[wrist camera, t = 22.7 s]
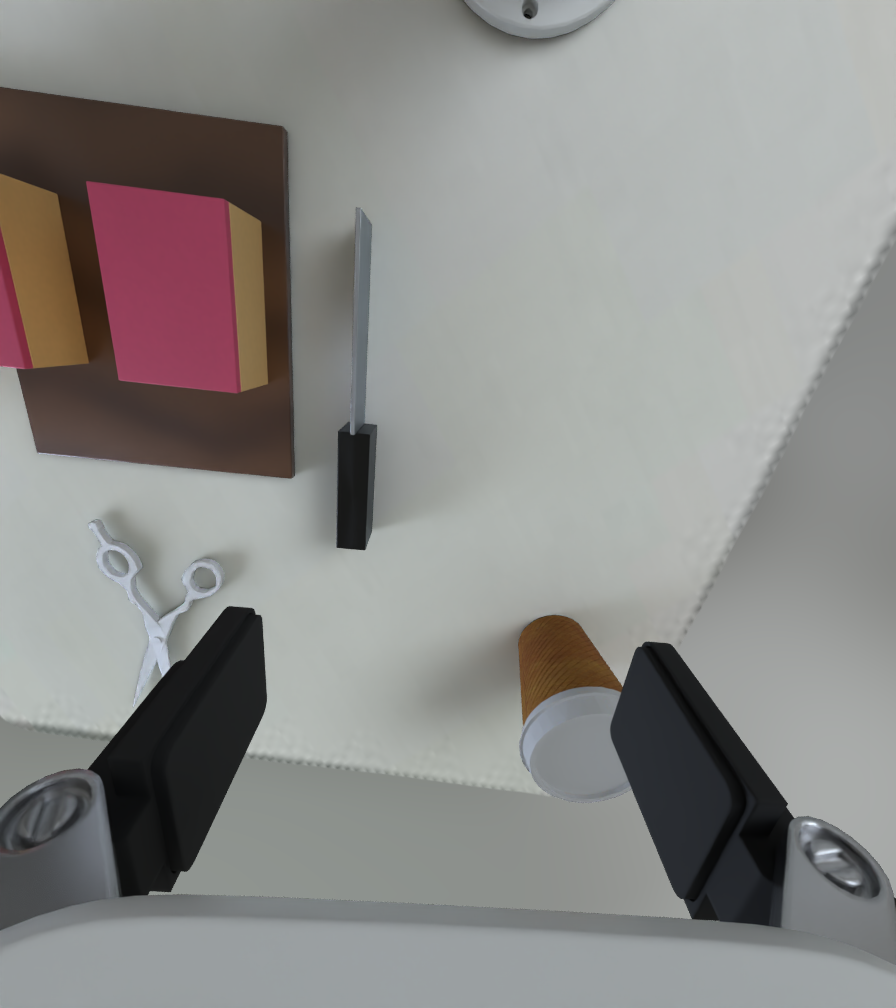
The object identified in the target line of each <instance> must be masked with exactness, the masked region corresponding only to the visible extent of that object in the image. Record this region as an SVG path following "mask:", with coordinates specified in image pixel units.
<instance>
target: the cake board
mask: <svg viewBox="0 0 896 1008" xmlns="http://www.w3.org/2000/svg"><path fill="white" fill-rule="evenodd" d="M0 174H3V175H6V176H9V177H11V178H14V179H17V180H20V181H23V182H25V183H28V184H31V185H34V186H36V187H39V188H42V189H45V190H48V191H50V192H53V193H56V194H57V195H58V200H59V205H60V211H61V216H62V221H63V227H64V232H65V238H66V243H67V248H68V254H69V259H70V264H71V270H72V275H73V280H74V286H75V291H76V296H77V302H78V307H79V312H80V318H81V323H82V328H83V334H84V339H85V344H86V350H87V355H88V361H89V363H88V364H77V365H66V366H54V367H43V368H31V369H20V368H17V373H18V377H19V381H20V385H21V389H22V393H23V397H24V401H25V405H26V409H27V413H28V417H29V421H30V425H31V429H32V433H33V437H34V441H35V445H36V449H37V453H40V454H50V455H60V456H70V457H80V458H90V459H101V460H111V461H121V462H131V463H141V464H151V465H161V466H171V467H181V468H191V469H201V470H211V471H221V472H231V473H241V474H251V475H261V476H271V477H281V478H293V477H294V476H295V461H294V415H293V370H292V324H291V278H290V233H289V187H288V142H287V131H286V130H285V129H284V127H283V126H277V125H270V124H262V123H255V122H248V121H241V120H234V119H227V118H219V117H212V116H205V115H198V114H191V113H183V112H176V111H169V110H162V109H155V108H147V107H140V106H133V105H126V104H119V103H112V102H104V101H97V100H90V99H83V98H76V97H68V96H61V95H54V94H47V93H40V92H33V91H25V90H18V89H11V88H4V87H0ZM86 181H91V182H99V183H106V184H114V185H122V186H129V187H137V188H145V189H152V190H160V191H168V192H175V193H183V194H191V195H198V196H206V197H214V198H221V199H225V200H226V201H228V202H230V203H231V204H233V205H235V206H236V207H238V208H240V209H241V210H243V211H245V212H246V213H248V214H249V215H251V216H253V217H254V218H256V219H258V220H259V221H261V230H262V254H263V277H264V301H265V324H266V348H267V371H268V384H266V385H263V386H260V387H256V388H253V389H249V390H246V391H243V392H239V393H230V392H221V391H212V390H202V389H193V388H184V387H175V386H166V385H156V384H147V383H138V382H129V381H120V380H119V378H118V372H117V366H116V360H115V354H114V348H113V342H112V336H111V330H110V324H109V318H108V312H107V305H106V299H105V293H104V287H103V281H102V275H101V269H100V263H99V257H98V251H97V245H96V239H95V233H94V227H93V221H92V215H91V209H90V203H89V197H88V191H87V185H86Z"/></svg>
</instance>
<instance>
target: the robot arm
mask: <svg viewBox="0 0 896 1008" xmlns="http://www.w3.org/2000/svg"><path fill="white" fill-rule="evenodd" d="M464 1H465V2H466V4H467V5H468V6H469V7H470V9H471V10H472V11H474V12H475V13H476V14H477V15H479V16H480V17H481V18H482V19H483V20H485V21H486V22H487V23H488V24H490V25H492V26H494V27H496V28H498V29H500V30H502V31H504V32H506V33H508V34H510V35H515V36H520V37H524V38H529V39H535V38H552V37H556V36H559V35H563V34H566V33H569V32H572V31H574V30H576V29H578V28H580V27H581V26H583V25H585V24H587V23H589V22H590V21H592V20H593V19H595V18H596V17H597V16H598V15H599V14H600V13H602V12H603V11H604V10H605V9H606V8H607V7H609V6H610V5H611V4H612V3H613V2H614V0H464ZM525 14H529V15H530V16H531V19H527V18H525V17H524V15H525ZM266 702H267V692H266V675H265V658H264V641H263V624H262V617H261V615H255V611H254V609H253V608H244V607H233V606H229V607H227V608H226V609H225V610H224V611H223V612H222V613H221V615H220V616H219V617H218V618H217V620H216V621H215V622H214V624H213V625H212V626H211V627H210V629H209V630H208V631H207V632H206V634H205V635H204V636H203V637H202V639H201V640H200V641H199V643H198V644H197V645H196V646H195V648H194V649H193V650H192V651H191V653H190V654H189V655H188V656H187V658H186V659H185V660H184V661H183V660H180V661H178V662H176V663H175V664H174V665H173V666H172V667H171V668H170V669H169V670H168V671H167V673H166V674H165V675H164V676H163V677H162V679H161V680H160V681H159V682H158V684H157V685H156V686H155V687H154V688H153V690H152V691H151V692H150V693H149V695H148V696H147V697H146V698H145V700H144V701H143V702H142V703H141V704H140V706H139V707H138V708H137V709H136V711H135V712H134V713H133V714H132V716H131V717H130V718H129V719H128V720H127V722H126V723H125V724H124V725H123V727H122V728H121V729H120V730H119V732H118V733H117V734H116V735H115V736H114V738H113V739H112V740H111V741H110V743H109V744H108V745H107V746H106V748H105V749H104V750H103V751H102V753H101V754H100V755H99V756H98V757H97V759H96V760H95V761H94V762H93V763H92V765H91V766H90V767H89V768H88V770H84V769H72V770H64V771H60V772H57V773H54V774H51V775H48V776H45V777H44V778H42V779H40V780H38V781H36V782H34V783H32V784H30V785H28V786H26V787H25V788H24V789H22V790H21V791H19V792H18V793H17V794H15V795H14V796H13V797H11V798H10V799H9V800H8V801H7V802H6V803H5V804H4V805H3V806H2V807H1V808H0V1008H896V898H894V895H893V890H892V888H891V885H890V882H889V879H888V877H887V876H886V874H885V873H884V871H883V869H882V868H881V866H880V865H879V864H878V863H877V861H876V860H875V859H874V858H873V857H872V856H871V855H870V853H869V852H868V851H867V850H866V849H865V848H863V847H862V846H861V845H860V844H859V843H858V842H857V841H855V840H854V839H853V838H852V837H851V836H849V835H848V834H846V833H845V832H843V831H842V830H840V829H839V828H837V827H835V826H833V825H831V824H829V823H827V822H825V821H823V820H820V819H816V818H813V817H809V816H806V817H805V816H804V817H797V818H795V819H794V817H793V816H792V815H791V813H790V812H789V810H788V809H787V808H786V806H787V804H788V803H787V802H786V801H785V799H784V798H783V796H782V795H781V794H780V792H779V791H778V790H777V788H776V787H775V785H774V784H773V783H772V781H771V780H770V779H769V777H768V776H767V774H766V773H765V772H764V770H763V769H762V768H761V766H760V765H759V764H758V763H757V761H756V759H755V758H754V757H753V756H752V754H751V753H750V751H749V750H748V749H747V747H746V746H745V744H744V743H743V742H742V740H741V739H740V737H739V736H738V735H737V733H736V732H735V731H734V730H733V728H732V727H731V725H730V724H729V722H728V721H727V720H726V718H725V717H724V716H723V714H722V713H721V712H720V710H719V709H718V707H717V706H716V705H715V703H714V702H713V701H712V699H711V698H710V697H709V695H708V694H707V692H706V691H705V690H704V688H703V687H702V685H701V684H700V683H699V681H698V680H697V679H696V677H695V676H694V674H693V673H692V672H691V670H690V669H689V668H688V666H687V665H686V663H685V662H684V661H683V659H682V658H681V657H680V655H679V654H678V653H677V651H676V650H675V648H674V647H673V646H672V645H671V644H668V643H658V642H645V643H644V644H643V645H642V647H638V648H637V649H636V650H635V653H634V656H633V659H632V662H631V665H630V668H629V671H628V674H627V677H626V680H625V683H624V686H623V689H622V692H621V695H620V698H619V701H618V703H617V706H616V709H615V712H614V715H613V718H612V721H611V725H610V735H611V739H612V742H613V745H614V747H615V749H616V752H617V754H618V757H619V759H620V761H621V764H622V766H623V769H624V771H625V774H626V776H627V778H628V781H629V783H630V786H631V788H632V791H633V793H634V795H635V798H636V800H637V803H638V805H639V807H640V810H641V812H642V815H643V817H644V820H645V822H646V825H647V827H648V829H649V832H650V834H651V837H652V839H653V842H654V844H655V846H656V849H657V851H658V854H659V856H660V859H661V861H662V863H663V866H664V868H665V871H666V873H667V876H668V878H669V880H670V883H671V885H672V888H673V890H674V892H675V893H676V895H677V896H678V897H679V898H681V899H684V901H685V904H686V906H687V908H688V911H689V913H690V915H691V918H692V919H683V918H667V917H650V916H632V915H616V914H599V913H583V912H566V911H548V910H530V909H510V908H493V907H474V906H454V905H434V904H414V903H396V902H373V901H353V900H330V899H329V900H328V899H309V898H288V897H264V896H226V895H188V894H177V895H148V894H149V892H150V891H159V892H160V891H161V892H171V890H172V888H173V886H174V884H175V882H176V880H177V878H178V876H179V874H180V872H181V871H184V872H185V871H188V870H189V869H190V867H191V866H192V865H193V862H194V861H195V859H196V857H197V854H198V852H199V850H200V848H201V846H202V844H203V842H204V840H205V838H206V835H207V833H208V831H209V829H210V827H211V825H212V823H213V820H214V819H215V816H216V814H217V812H218V810H219V808H220V806H221V804H222V802H223V799H224V797H225V795H226V793H227V791H228V789H229V786H230V784H231V782H232V780H233V778H234V776H235V774H236V772H237V770H238V767H239V765H240V763H241V761H242V759H243V757H244V755H245V753H246V751H247V748H248V746H249V744H250V742H251V740H252V738H253V736H254V734H255V731H256V729H257V727H258V725H259V723H260V721H261V719H262V717H263V714H264V711H265V708H266ZM708 920H713V921H708Z"/></svg>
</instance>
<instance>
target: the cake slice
mask: <svg viewBox="0 0 896 1008" xmlns="http://www.w3.org/2000/svg"><path fill="white" fill-rule="evenodd" d="M88 363H89V361H88V355H87V350H86V344H85V339H84V334H83V328H82V323H81V318H80V312H79V307H78V302H77V296H76V291H75V286H74V280H73V275H72V270H71V264H70V259H69V254H68V248H67V243H66V238H65V232H64V227H63V221H62V216H61V211H60V205H59V200H58V195H57V194H56V193H53V192H50V191H48V190H45V189H42V188H39V187H36V186H34V185H31V184H28V183H25V182H23V181H20V180H17V179H14V178H11V177H9V176H6V175H3V174H0V366H2V367H11V368H20V369H31V368H43V367H54V366H66V365H77V364H88Z"/></svg>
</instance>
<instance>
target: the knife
mask: <svg viewBox="0 0 896 1008" xmlns="http://www.w3.org/2000/svg"><path fill="white" fill-rule="evenodd" d="M371 237H372V224H371V222H370V221H369V219H368V218H367V216H366V215H365V213H364V212H363V210H362V209H361V208H357V207H356V223H355V263H354V303H353V343H352V383H351V422H348V423H347V424H346V425H345V426H344V427H342V428H341V429H340V430H339V431H338V473H337V542H336V547H337V548H345V549H356V550H365V549H366V547H367V544H368V541H369V538H370V535H371V533H372V521H373V500H374V479H375V459H376V438H377V425H373V424H364V423H365V399H366V372H367V345H368V318H369V291H370V264H371Z"/></svg>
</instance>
